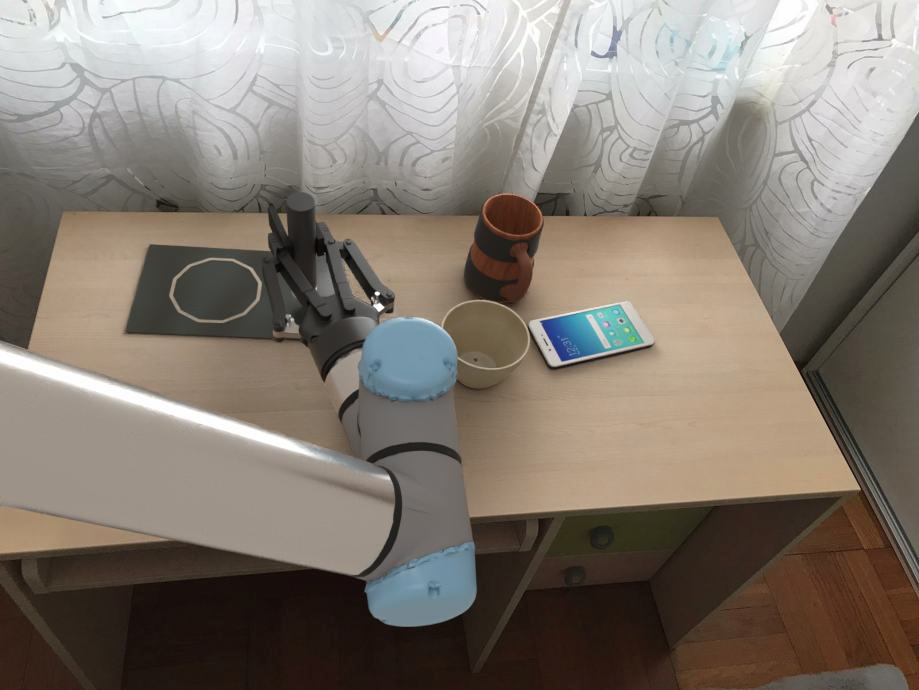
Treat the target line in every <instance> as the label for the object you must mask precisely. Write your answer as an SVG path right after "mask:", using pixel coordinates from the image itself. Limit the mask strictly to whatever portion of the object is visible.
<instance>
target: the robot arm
mask: <svg viewBox="0 0 919 690" xmlns="http://www.w3.org/2000/svg"><path fill="white" fill-rule="evenodd" d="M267 216H268V225H269V228H270V229H271V232H269V233H268V234H267V243H268V248H269V251H271V253H272V255H273V256H272V257H264V258H262V260H261V263H262V272H263V279H264V283H265V286H266V290H267V294H268V298H269V301H270V305H271V309H272V312H273V320H272V329H273V339H272V340H273V341H274V342H275V343H278V344H281V343H283V342H285V341H286V340H285V338H298V339H300V340H299V342H300V343H301V344H302V345H304V346H305V347H306V348H307V349H308V350H309V353H310V354H311V357H312V359H313V362H314V364H315V366H316V369H317V371H318V373H319V375H320V378H321V380H322V382H323V383H324V385H325V386H324V387H325V390H326V392H327V394H328V397H329V399H330V402H331V404H332V406H333V408H334V409H333V410H334V411H335V414H336V416H337V418H338V420H339V422H340V424H341V427H342V428H343V431H344V433H345V436H346V438H347V441H348V443H349V446H350V448H351V450H352V453H353V455H354V456H351V455H349V454H346V453H344V452H343V453H342V452H339V451H337V450H333V449H330V448H327V447H324V446H323V445H322V446H321V445H319V444H315V443H313V442H309V441H306V440H303V439H300V438H298V437H295V436H291V435H288V434H285V433H282V432H280V431H276V430H273V429H271V428H267V427H264V426H260V425H258V424H255V423H251V422H249V421H246V420H242V419H241V418H240V419H239V418H237V417H233V416H230V415H227V414H224V413H222V412H218V411H217V410H212V409H209V408H206V407H203V406H201V405H197V404H195V403H192V402H188V401H185V400H182V399H179V398H176V397H173V396H170V395H167V394H163V393H161V392H158V391H155V390H152V389H148V388H146V387H143V386H139V385H137V384H133V383H130V382H128V381H124V380H122V379H119V378H115V377H112V376H109V375H106V374H103V373H100V372H97V371H94V370H91V369H89V368H85V367H82V366H79V365H76V364H73V363H70V362H67V361H63V360H61V359H57V358H54V357H51V356H48V355H45V354H43V353H39V352H38V351H33V350H30V349H27V348H24V347H22V346H19V345H15V344H12V343H9V342H6V341H3V340H0V506H2V507H6V508H12V509H15V510H16V509H17V510H22V511H26V512H31V513H37V514H41V515H47V516H52V517H55V518H62V519H66V520H71V521H76V522H82V523H86V524H92V525H95V526H96V525H97V526H101V527H106V528H111V529H116V530H122V531H126V532H131V533H136V534H139V535H140V534H142V535H145V536H152V537H156V538H159V539H165V540H170V541H174V542H175V541H177V542H180V543H186V544H191V545H195V546H200V547H206V548H211V549H215V550H221V551H225V552H230V553H235V554H239V555H240V554H241V555H246V556H249V557H250V556H251V557H256V558H260V559H265V560H271V561H275V562H280V563H285V564H291V565H295V566H300V567H306V568H310V569H314V570H319V571H325V572H330V573H335V574H338V575H339V574H340V575H344V576H345V577H352V578H356V579H359V580H363V581H365V587H364V591H363V592H364V593H366V597H367V605H368V611H369V612H370V614H371V615H372V617H373V618H374V619H377V620H379V621H380V622H382V623H383V624H385V625H388V626H394V627H410V628H411V627H423V626H431V625H435V624H439V623H443V622H446V621H449V620H451V619H454V618H456V617H458V616H459V615H461V614H463V613H465V612H466V611H467V610H469V609H470V607H472V605H473V603H474V602H475V600H476V597H477V591H478V588H477V587H478V586H477V572H476V553H475V551H476V545H475V541H474V538H473V537H474V536H473V531H472V525H471V524H472V523H471V518H470V510H469V505H468V496H467V491H466V484H465V478H464V471H463V463H462V461H463V460H462V453H461V452H462V451H461V446H460V437H459V430H458V422H457V415H456V408H455V401H454V386H455V385H456V382H457V380H458V379H457V377H458V372H457V360H458V354H457V349H456V346H455V343H454V341H453V340H452V338H451V337H450V335H449V334H448V333H447V332H446V331H445V330H444V329H443V328H441V325H439V324H437V323H436V322H433V321H431V320H430V319H426V318H424V317H423V318H422V317H419V316H418V317H417V316H412V317H411V316H404V317H403V316H399V317H393V318H390V319H386V320H384V321H382V322H381V323H380V317H381V316H382V315H384V314H387V315H390V314H393V312H394V310H395V302H396V301H395V300H396V293H395V292H394V291H393V290H392V289H391V288H389V287H388V286H387V285H385V284H384V283H382V281H381V279H380V278H379V277H378V275H377V274H376V272H375V271H374V269H373V267H372V266H371V265H370V263H369V262H368V260H367V259H366V257H365V255H364V254H363V252H362V251H361V249H360V248H359V247H358V244H357V243H356V242H355V241H354V240H353V239H352V238H345V239H344V240H343V241H338V240H336V239H335V238H334V236H333V233H332V231H331V229H330V228H329V226H328V224H327V223H326V222H325V221H320V222H317V221H316V254H317V256H318V257H319V256H324V255H325V254H326V263H327V264H328V268H329V272H330V276H331V280H332V284H333V288H334V292H335V294H332V295H330V296H322V297H321V296H320V295H319V293H318V292H317V290H316V289H315V288H314V289H313V288H312V286H311V285H310V283H309V282H308V281H307V279H306V278H305V276H304V275H303V273H302V272H301V270H300V269H299V268H298V266H297V265H296V263H295V262H294V260H293V256H292V244H291V242H290V240H289V238H288V232H287V231H286V229H285V226H284V225H283V222H282V219H281V218H280V215H279V214H278V211H277V209H276V206H275V205H271V206H267ZM341 258H343V259H344V263H345V264H346V265H347V266H346V267H348V269H349V270H350V272H351V274H352V275H353V276H354V278H355V280H356V281H357V283H358V285H359V286H360V287H361V289H362V291H363V292H364V293H365V295H366V297H367V299H368V300H369V301H370V304H369V302H366V301H364V300H363V299H360V298H358V297H357V296H355V295H353V292H352V289H351V284H350V282H349V280H348V278H347V274H346V270H345V265H344V266H343V263H342V259H341ZM279 272H280V274H281V275H282V277H283V278H284V280H285V281H286V283H287V284H288V286H289V287H290V289H291V290H292V292H293V293H294V295H295V296H296V298H297V299H298V301H299V302H300V304H301V305H302V307H303V309H304V312H305V314H304V317H303V319H302V321H301V324H300V325H297V324H295V322H294V319H293V318H292V317H291V315H290V314H287V311H286V304H285V301H284V297H283V294H282V290H281V287H280V283H279V280H278V276H277V273H279Z"/></svg>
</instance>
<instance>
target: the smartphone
mask: <svg viewBox="0 0 919 690" xmlns="http://www.w3.org/2000/svg"><path fill="white" fill-rule="evenodd" d="M527 328H528V331H529V334H530V335H531V337H532V339H533V342H534V344H535V345H536V347H537V348H538V351H539V352H540V354H541V357H542V358H543V360H544V362H545V365H546V366H547V367H548V368H549V369H550V370H559V369H563V368H569V367H572V366H576V365H580V364H584V363H588V362H593V361H598V360H602V359H608V358H610V357H615V356H619V355H623V354H628V353H633V352H636V351H637V352H638V351H640V350H641V351H642V350H645V349H650V348H652V347H653V346H654V344H655V342H656V341H655V338H654V336H653V335H652V333H651V331H650V329H648V326H647V325H646V324H645V322H644V321H643V319H642V318H641V316H640V314H639V313H638V312H637V310H636V309H635V307H634V305H633V304H632V303H631V302H630V301H628V300H625V301H619V302H615V303H610V304H604V305H600V306H595V307H590V308H585V309H580V310H576V311H571V312H566V313H560V314H556V315H551V316H546V317H542V318H537V319H532V320H529V322H528V324H527Z"/></svg>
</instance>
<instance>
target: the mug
mask: <svg viewBox="0 0 919 690" xmlns="http://www.w3.org/2000/svg"><path fill="white" fill-rule="evenodd" d="M479 210H480V211H479V215H478V218H477V222H476V225H475V228H474V233H473V242H472V244H471V246H470V248H469V250H468V253H467V256H466V261H465V264H464V271H463V272H464V273H463V277H464V280H465V282H466V285H467V286H468V288H469V289H470V290H471V291H472V293H473V294H475V295H476V296H477V297H478V298H480V299H481V300H487V301H492V302H496V303H499V304H505V303H509V302H511V303H517V302H520V301H521V300H522V299H523V298H524V297H525V296H526V294H527V292H528V290H529V288H530V286H531V283H532V279H533V276H534V275H533V274H534V267H535V255H536V254H537V252H538V249H539V246H540V241H541V236H542V232H543V229H544V224H545V220H544V216H543V213H542V211H541V209H540V208H539V207H538V206H537V205H536V204H535V203H534V202H533V201H531V200H530V199H528V198H526V197H524V196H523V195H522V196H521V195H519V194H514V193H499V194H496V195H495V194H494V195H493V196H491V197H489V198H488V199H486V200H485V201H484V202H483V204H482V205H481V207H480V209H479Z"/></svg>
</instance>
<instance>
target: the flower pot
mask: <svg viewBox="0 0 919 690" xmlns="http://www.w3.org/2000/svg"><path fill="white" fill-rule="evenodd" d="M440 327H441V328H443V329H444V330H445V331H446V332H447V333H448V334H449V335H450V337H451V338H452V340H453V341H454V343H455V346H456V349H457V354H458V360H457V372H458V377H457V380H458V381H459V382H460V383H461V384H463V385H464V386H466V387H468V388H471V389H477V390H478V389H485V388H489V387H491V386H494V385H496V384H498V383H500V382H502V381H503V380H505V379H506V378H507V377H509V376H510V375H511V374H512V373H513V372H514V371H515V370H516V369H517V368H518V367H519V365H520V364H522V362H523V360H524V359H525V358H526V355H527V353H528V351H529V350H530V345H531V336H530V335H531V333H530V332H529V330H528V325H526V322H525V321H524V320H523V318H521V316H520V315H519V314H518V313H517V312H515V311H514V310H513V309H511V308H510V307H508V306H506V305H505V304H504V305H503V303H496V302H492V301H487V300H484V299H474V300H473V299H472V300H466V301H463V302H460V303H459V304H456V305H454V306H452V308H450V310H448V311H447V313H446V314H445V315H444V317H443V319H442V320H441V325H440Z"/></svg>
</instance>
